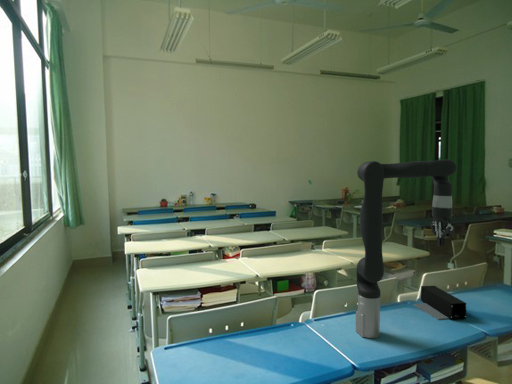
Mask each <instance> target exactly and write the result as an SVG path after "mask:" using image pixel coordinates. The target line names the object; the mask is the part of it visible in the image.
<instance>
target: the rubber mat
mask: <svg viewBox="0 0 512 384" xmlns="http://www.w3.org/2000/svg"><path fill="white" fill-rule="evenodd" d="M413 306H414V307H416V308H418V309H419V310H421V311H423V312H425V313H426V314H428V315H429V316H431V317H434V318H435V319H437V320H438V321H443V320H450V319H449V318H448V317H446V316H445V315H443V314H442V313H440V312H439V311H437V310H436V309H434V308H433V307H431V306H429V305H428V304H426V303H425V302H424V303H423V302H422V303H413ZM454 317H460V316H458V315H456V314H455V316H454Z"/></svg>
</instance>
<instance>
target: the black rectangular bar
mask: <svg viewBox="0 0 512 384" xmlns="http://www.w3.org/2000/svg"><path fill="white" fill-rule="evenodd" d="M420 301H421V302H422V303H423V302H424V303H426V304H428V305H429V306H431V307H433V308H434V309H436V310H437V311H439V312H440V313H442V314H443V315H445V316H446V317H448V318H449V319H448V320H465V319H467V302H465V301H464V300H462V299H460V298H458V297H456V296H454V295H452V294H450V293H449V292H447V291H445V290H443V289H441V288H439V287H438V286H436V285H421V286H420ZM455 314H456V315H458V316H460V317H454V316H455Z"/></svg>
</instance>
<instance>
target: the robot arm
mask: <svg viewBox="0 0 512 384" xmlns="http://www.w3.org/2000/svg"><path fill="white" fill-rule="evenodd" d="M456 171H457V164H456V162H455V161H454V160H452V159H437V160H417V161H405V162H403V161H402V162H397V163H380V162H378V161H376V160H375V161H374V160H373V161H371V160H370V161H366V162H363V163H361V164H360V165H359V167H358V168H357V177H358V179H359V180H361V181H362V182H363V185H364V194H363V195H364V196H363V201H362V204H361V208H360V211H359V229H360V230H359V231H360V235H361V239H362V243H363V247H364V257H362V258H360V260H359V261H358V262H357V264H356V287H357V298H358V299H357V310H355V332H356V333H357V334H358V335H359V336H360V337H361V338H367V339H376V338H378V337H380V331H381V329H380V328H381V289H380V287H379V284H378V283H379V282H380V281H382V279H383V277H384V273H385V267H384V257H383V223H384V222H383V218H384V217H383V189H384V183H385V182H384V181H385V179H402V178H403V179H407V178H408V179H416V178H417V179H419V178H429V177H431V178H432V183H433V197H432V204H431V205H432V206H431V207H432V208H431V210H432V211H431V216H432V218H433V219H432V222H429V223H428V224H429V227H430V230H431V232H432V233H433V235H434V236H435V237H436V244H437V246H438V247H444V246H445V245H446V243H445V240H446V238H448V237H450V236H451V234H452V233H453V232H454V231H455V228H456V227H455V226H454V225H452V224H451V223H452V222H451V218H452V217H453V184H452V182H450V181H449V177H451V176H452V175H454V174H455V173H456Z"/></svg>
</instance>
